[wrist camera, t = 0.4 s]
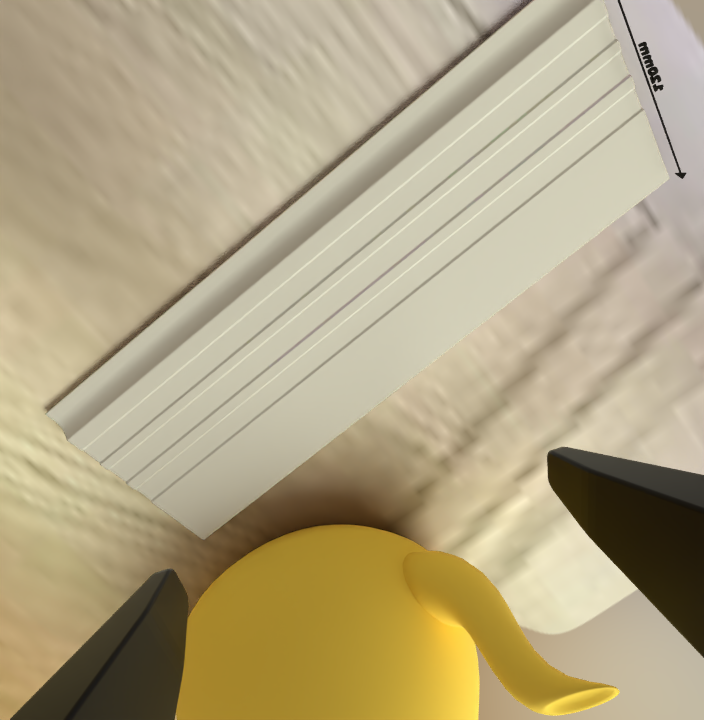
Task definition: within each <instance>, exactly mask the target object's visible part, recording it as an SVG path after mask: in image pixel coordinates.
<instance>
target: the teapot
mask: <svg viewBox="0 0 704 720" xmlns="http://www.w3.org/2000/svg"><path fill="white" fill-rule="evenodd" d="M475 644H476V645H477V647H478V648H479V650H480V652H481V653H482V655H483V656H484V658H485V660H486V661H487V663H488V664H489V666H490V667H491V669H492V671H493V672H494V673H495V675H496V676H497V677H498V679H499V680H500V682H501V683H502V684H503V686H504V687H505V689H506V690H507V691H508V692H509V693H510V694H511V695H512V696H513V697H514V698H515V699H516V700H517V701H519V702H520V703H522V704H523V705H525V706H526V707H528V708H529V709H531V710H532V711H534V712H537V713H541V714H545V715H565V714H570V713H575V712H579V711H582V710H586V709H589V708H592V707H595V706H598V705H600V704H602V703H605V702H607V701H609V700H611V699H613V698H614V697H616V696H617V695H618V694H619V690H618V689H617V688H616V687H614V686H610V685H606V684H602V683H595V682H589V681H585V680H582V679H578V678H574V677H570V676H567V675H565V674H564V673H562V672H560V671H559V670H557V669H555V668H554V667H552V666H550V665H549V664H548V663H547V662H546V661H545V660H544V659H543V658H542V657H541V656H540V655H539V654H538V653H537V652H536V651H535V650H534V649H533V647H532V646H531V644H530V643H529V641H528V640H527V639H526V637H525V635H524V634H523V632H522V630H521V628H520V627H519V625H518V623H517V621H516V620H515V618H514V616H513V614H512V612H511V611H510V609H509V607H508V605H507V603H506V602H505V600H504V599H503V597H502V596H501V594H500V592H499V591H498V590H497V588H496V587H495V586H494V585H493V584H492V583H491V582H490V580H489V579H488V578H487V577H486V576H485V575H484V574H483V573H482V572H481V571H479V570H478V569H477V568H475V567H474V566H472V565H471V564H469V563H468V562H467V561H465V560H464V559H462V558H459V557H457V556H454V555H451V554H447V553H444V552H440V551H427V550H426V549H425V548H423V547H422V546H420V545H419V544H417V543H415V542H413V541H411V540H409V539H407V538H405V537H402V536H399V535H397V534H394V533H391V532H388V531H384V530H380V529H376V528H371V527H366V526H358V525H323V526H315V527H310V528H305V529H301V530H298V531H295V532H291V533H288V534H286V535H283V536H281V537H279V538H276V539H274V540H272V541H269V542H267V543H266V544H264V545H262V546H260V547H259V548H257V549H255V550H253V551H252V552H250V553H248V554H247V555H246V556H244V557H243V558H241V559H240V560H239V561H237V562H236V563H234V564H233V565H232V566H231V567H229V568H228V569H227V570H226V571H225V572H224V573H222V574H221V575H220V576H219V577H218V578H217V579H216V580H215V581H214V582H213V583H212V584H211V585H210V586H209V588H208V589H207V590H206V591H205V592H204V593H203V595H202V596H201V597H200V599H199V601H198V602H197V604H196V605H195V607H194V608H193V610H192V612H191V613H190V615H189V617H188V619H187V633H186V647H185V660H184V670H183V676H182V682H181V687H180V693H179V698H178V703H177V709H176V715H177V720H478V710H479V669H478V657H477V651H476V647H475Z"/></svg>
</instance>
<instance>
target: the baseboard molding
mask: <svg viewBox="0 0 704 720" xmlns="http://www.w3.org/2000/svg"><path fill="white" fill-rule="evenodd" d="M618 3H619V6H620V8H621V11H622V14H623V17H624V19H625V22H626V25H627V28H628V31H629V33H630V36H631V39H632V42H633V45H634V47H635V50H636V53H637V56H638V58H639V61H640V64H641V67H642V70H643V72H644V75H645V78H646V81H647V84H648V86H649V89H650V92H651V95H652V97H653V100H654V103H655V106H656V109H657V111H658V114H659V117H660V120H661V122H662V125H663V128H664V131H665V134H666V136H667V139H668V142H669V145H670V148H671V150H672V153H673V156H674V159H675V161H676V164H677V167H678V170H679V173H675V174H676V175H677V176H679V177H680V178H682V179H683V178H684V176H685V175H686V173H681V170H680V167H679V165H678V162H677V159H676V156H675V153H674V151H673V148H672V145H671V142H670V139H669V137H668V134H667V131H666V128H665V125H664V123H663V120H662V117H661V114H660V111H659V109H658V106H657V103H656V100H655V97H654V95H653V92H652V89H651V86H650V83H649V81H648V78H647V75H646V72H645V69H644V67H643V64H642V61H641V58H640V55H639V53H638V50H637V47H636V44H635V41H634V39H633V36H632V33H631V30H630V27H629V25H628V22H627V19H626V16H625V13H624V11H623V8H622V5H621V2H620V0H618ZM638 46H639V47H641V46H644V47H642V48H641V49H640V51H644V50H645V52H643V53H641V54H642V56H643V55H646V54H648V53H650V52H649V50H648V47H647V43H646V42H643V43H640V44H639V45H638ZM621 50H622V49H621V46H620V44H619V41H618V40H617V39H616V37H615V35H614V32H613V29H612V27H611V24H610V21H609V19H608V11H607V9H606V6H605V3H604V1H603V0H532V1H531V2H530V3H529V4H527V5H526V6H525V7H524V8H523V9H521V10H520V11H519V12H518V13H517V14H516V15H514V16H513V17H512V18H511V19H510V20H509V21H507V22H506V23H505V24H504V25H503V26H501V27H500V28H499V29H498V30H497V31H496V32H494V33H493V34H492V35H491V36H490V37H488V38H487V39H486V40H485V41H484V42H483V43H481V44H480V45H479V46H478V47H477V48H476V49H474V50H473V51H472V52H471V53H470V54H468V55H467V56H466V57H465V58H464V59H463V60H461V61H460V62H459V63H458V64H457V65H455V66H454V67H453V68H452V69H451V70H450V71H448V72H447V73H446V74H445V75H444V76H442V77H441V78H440V79H439V80H438V81H437V82H435V83H434V84H433V85H432V86H431V87H430V88H428V89H427V90H426V91H425V92H424V93H422V94H421V95H420V96H419V97H418V98H417V99H415V100H414V101H413V102H412V103H411V104H409V105H408V106H407V107H406V108H405V109H404V110H402V111H401V112H400V113H399V114H398V115H397V116H395V117H394V118H393V119H392V120H391V121H389V122H388V123H387V124H386V125H385V126H384V127H382V128H381V129H380V130H379V131H378V132H376V133H375V134H374V135H373V136H372V137H371V138H369V139H368V140H367V141H366V142H365V143H363V144H362V145H361V146H360V147H359V148H358V149H356V150H355V151H354V152H353V153H352V154H351V155H349V156H348V157H347V158H346V159H345V160H343V161H342V162H341V163H340V164H339V165H338V166H336V167H335V168H334V169H333V170H332V171H330V172H329V173H328V174H327V175H326V176H325V177H323V178H322V179H321V180H320V181H319V182H318V183H316V184H315V185H314V186H313V187H312V188H310V189H309V190H308V191H307V192H306V193H305V194H303V195H302V196H301V197H300V198H299V199H297V200H296V201H295V202H294V203H293V204H292V205H290V206H289V207H288V208H287V209H286V210H284V211H283V212H282V213H281V214H280V215H279V216H277V217H276V218H275V219H274V220H273V221H272V222H270V223H269V224H268V225H267V226H266V227H264V228H263V229H262V230H261V231H260V232H259V233H257V234H256V235H255V236H254V237H253V238H251V239H250V240H249V241H248V242H247V243H246V244H244V245H243V246H242V247H241V248H240V249H239V250H237V251H236V252H235V253H234V254H233V255H231V256H230V257H229V258H228V259H227V260H226V261H224V262H223V263H222V264H221V265H220V266H218V267H217V268H216V269H215V270H214V271H213V272H211V273H210V274H209V275H208V276H207V277H206V278H204V279H203V280H202V281H201V282H200V283H198V284H197V285H196V286H195V287H194V288H193V289H191V290H190V291H189V292H188V293H187V294H185V295H184V296H183V297H182V298H181V299H180V300H178V301H177V302H176V303H175V304H174V305H172V306H171V307H170V308H169V309H168V310H167V311H165V312H164V313H163V314H162V315H161V316H160V317H158V318H157V319H156V320H155V321H154V322H152V323H151V324H150V325H149V326H148V327H147V328H145V329H144V330H143V331H142V332H141V333H139V334H138V335H137V336H136V337H135V338H134V339H132V340H131V341H130V342H129V343H128V344H127V345H125V346H124V347H123V348H122V349H121V350H119V351H118V352H117V353H116V354H115V355H114V356H112V357H111V358H110V359H109V360H108V361H106V362H105V363H104V364H103V365H102V366H101V367H99V368H98V369H97V370H96V371H95V372H93V373H92V374H91V375H90V376H89V377H88V378H86V379H85V380H84V381H83V382H82V383H81V384H79V385H78V386H77V387H76V388H75V389H73V390H72V391H71V392H70V393H69V394H68V395H66V396H65V397H64V398H63V399H62V400H60V401H59V402H58V403H57V404H56V405H55V406H53V407H52V408H51V409H50V410H49V411H48V412H47V413H46V414H45V415H47V416H48V417H49V418H51V419H52V420H53V421H55V422H56V423H57V424H58V425H59V426H60V427H61V428H62V430H63V431H64V433H65V436H66V438H67V441H69V442H70V443H71V444H73V445H74V446H75V447H77V448H78V449H79V450H81V451H84V452H86V453H87V454H88V455H90V456H91V457H92V458H94V459H95V460H96V461H98V462H99V463H100V465H101V466H103V467H104V468H105V469H107V470H110V471H111V472H113V473H114V474H116V475H117V476H118V477H120V478H121V479H122V480H124V481H125V482H126V484H127V485H129V486H130V487H131V488H133V489H134V490H137V491H139V492H140V493H141V494H143V495H144V496H145V497H147V498H148V499H150V500H151V502H152V503H153V504H155V505H156V506H157V507H159V508H160V509H161V510H163V511H164V512H165V513H167V514H168V515H170V516H171V517H172V518H174V519H175V520H176V521H178V522H179V523H180V524H182V525H183V526H185V527H186V528H187V529H189V530H190V531H191V532H193V533H194V534H196V535H197V536H198V537H200V538H201V539H202V540H205V539H206V538H207V537H209V536H210V535H211V534H212V533H214V532H215V531H216V530H218V529H219V528H220V527H221V526H223V525H224V524H225V523H227V522H228V521H229V520H230V519H232V518H233V517H234V516H236V515H237V514H238V513H239V512H241V511H242V510H243V509H245V508H246V507H247V506H248V505H250V504H251V503H252V502H254V501H255V500H256V499H257V498H259V497H260V496H261V495H263V494H264V493H265V492H267V491H268V490H269V489H270V488H272V487H273V486H274V485H276V484H277V483H278V482H279V481H281V480H282V479H283V478H285V477H286V476H287V475H288V474H290V473H291V472H292V471H294V470H295V469H296V468H297V467H299V466H300V465H301V464H303V463H304V462H305V461H306V460H308V459H309V458H310V457H312V456H313V455H314V454H315V453H317V452H318V451H319V450H321V449H322V448H323V447H324V446H326V445H327V444H328V443H330V442H331V441H332V440H333V439H335V438H336V437H337V436H339V435H340V434H341V433H343V432H344V431H345V430H346V429H348V428H349V427H350V426H352V425H353V424H354V423H355V422H357V421H358V420H359V419H361V418H362V417H363V416H364V415H366V414H367V413H368V412H370V411H371V410H372V409H373V408H375V407H376V406H377V405H379V404H380V403H381V402H382V401H384V400H385V399H386V398H388V397H389V396H390V395H391V394H393V393H394V392H395V391H397V390H398V389H399V388H400V387H402V386H403V385H404V384H406V383H407V382H408V381H409V380H411V379H412V378H413V377H415V376H416V375H417V374H419V373H420V372H421V371H422V370H424V369H425V368H426V367H428V366H429V365H430V364H431V363H433V362H434V361H435V360H437V359H438V358H439V357H440V356H442V355H443V354H444V353H446V352H447V351H448V350H449V349H451V348H452V347H453V346H455V345H456V344H457V343H458V342H460V341H461V340H462V339H464V338H465V337H466V336H467V335H469V334H470V333H471V332H473V331H474V330H475V329H476V328H478V327H479V326H480V325H482V324H483V323H484V322H485V321H487V320H488V319H489V318H491V317H492V316H493V315H495V314H496V313H497V312H498V311H500V310H501V309H502V308H504V307H505V306H506V305H507V304H509V303H510V302H511V301H513V300H514V299H515V298H516V297H518V296H519V295H520V294H522V293H523V292H524V291H525V290H527V289H528V288H529V287H531V286H532V285H533V284H534V283H536V282H537V281H538V280H540V279H541V278H542V277H543V276H545V275H546V274H547V273H549V272H550V271H551V270H552V269H554V268H555V267H556V266H558V265H559V264H560V263H561V262H563V261H564V260H565V259H567V258H568V257H569V256H571V255H572V254H573V253H574V252H576V251H577V250H578V249H580V248H581V247H582V246H583V245H585V244H586V243H587V242H589V241H590V240H591V239H592V238H594V237H595V236H596V235H598V234H599V233H600V232H601V231H603V230H604V229H605V228H607V227H608V226H609V225H610V224H612V223H613V222H614V221H616V220H617V219H618V218H619V217H621V216H622V215H623V214H625V213H626V212H627V211H628V210H630V209H631V208H632V207H634V206H635V205H636V204H637V203H639V202H640V201H641V200H643V199H644V198H645V197H647V196H648V195H649V194H650V193H652V192H653V191H654V190H656V189H657V188H658V187H659V186H661V185H662V184H663V183H665V182H666V181H667V180H668V179H670V178H669V176H668V173H667V170H666V167H665V165H664V162H663V159H662V157H661V154H660V151H659V149H658V146H657V143H656V141H655V138H654V135H653V132H652V130H651V127H650V124H649V122H648V119H647V116H646V114H645V111H644V109H642V107H641V104H640V102H639V99H638V96H637V94H636V91H635V84H634V81H633V79H632V76H631V75H630V74H629V72H628V70H627V67H626V64H625V62H624V59H623V56H622V54H621ZM644 59H648V60H646V61H644V63H645V64H647V63H650V64H648V65H646V68H649V67H651V68H650V69H649V70H648V74H649V75H650V76H651V77H650V80H651V82H652V84H654V83H655V81H656V79H657V80H658V82H660V81H661V77H660V76H659V75H656V74H657V73H658V69H657V67H652V66H654V64H653V60H652V59H651V55H646V56H644V57H643V60H644ZM651 71H655V72H651ZM654 75H656V76H655V77H653V76H654ZM663 87H664V86H663V85H659V86H656V84H654V85H653V88H654V91H655V92H656V91H657V90H658V89H660V91H661V90H662V89H663Z"/></svg>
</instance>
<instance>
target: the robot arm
mask: <svg viewBox="0 0 704 720" xmlns="http://www.w3.org/2000/svg"><path fill="white" fill-rule="evenodd" d="M547 465H548V480H549V483H550V486H551V488H552V489H553V491H554V492H555V493H556V495H557V496H558V497H559V498H560V500H561V501H562V502H563V504H564V505H565V506H566V508H567V509H568V510H569V512H570V513H571V514H572V516H573V517H574V518H575V520H576V521H577V522H578V524H579V525H580V526H581V527H582V529H583V530H584V531H585V532H586V534H587V535H588V536H589V537H590V538H591V539H592V540H593V542H594V543H595V544H596V545H597V546H598V547H599V548H600V549H601V550H602V551H603V552H604V553H605V554H606V555H607V556H608V557H609V558H610V560H611V561H612V562H613V563H614V564H615V565H616V566H617V567H618V568H619V569H620V570H621V571H622V572H623V573H624V574H625V575H626V576H627V577H628V578H629V580H630V581H631V582H632V583H633V584H634V585H635V586H636V587H637V588H638V589H639V590H640V591H641V592H642V593H643V594H644V595H645V596H646V597H647V599H648V600H649V601H650V602H651V603H652V604H653V605H654V606H655V607H656V608H657V609H658V610H659V611H660V612H661V613H662V614H663V615H664V616H665V617H666V619H667V620H668V621H669V622H670V623H671V624H672V625H673V626H674V627H675V628H676V629H677V630H678V631H679V632H680V633H681V634H682V635H683V636H684V637H685V638H686V640H687V641H688V642H689V643H690V644H691V645H692V646H693V647H694V648H695V649H696V650H697V651H698V652H699V653H700V654H701V655H702V656H703V658H704V475H701V474H696V473H691V472H686V471H681V470H676V469H671V468H666V467H661V466H657V465H652V464H647V463H642V462H637V461H632V460H627V459H622V458H617V457H613V456H608V455H603V454H598V453H593V452H588V451H583V450H578V449H573V448H569V447H560V448H557V449H554V450H551V451H549V452H548V455H547ZM187 619H188V596H187V593H186V591H185V589H184V587H183V585H182V583H181V582H180V580H179V578H178V576H177V574H176V572H175V571H174V570H173V569H166V570H163V571H160V572H157V573H154V574H153V575H152V576H151V577H150V578H149V579H148V580H147V581H146V582H145V583H144V584H143V585H142V586H141V587H140V588H139V589H138V590H137V591H136V592H135V593H134V594H133V595H132V596H131V597H130V598H129V599H128V600H127V601H126V602H125V603H124V604H123V605H122V606H121V607H120V608H119V609H118V610H117V611H116V612H115V613H114V614H113V615H112V616H111V617H110V618H109V619H108V620H107V621H106V622H105V623H104V624H103V625H102V626H101V628H100V629H99V630H98V631H97V632H96V633H95V634H94V635H93V636H92V637H91V638H90V639H89V640H88V641H87V642H86V643H85V644H84V645H83V646H82V647H81V648H80V649H79V650H78V651H77V652H76V653H75V654H74V655H73V656H72V657H71V658H70V659H69V660H68V661H67V662H66V663H65V664H64V665H63V666H62V667H61V668H60V669H59V670H58V671H57V672H56V673H55V674H54V675H53V676H52V677H51V678H50V679H49V680H48V681H47V682H46V683H45V684H44V685H43V686H42V687H41V688H40V689H39V690H38V691H37V692H36V693H35V694H34V695H33V696H32V697H31V698H30V699H29V700H28V701H27V702H26V703H25V704H24V705H23V707H22V708H21V709H20V710H19V711H18V712H17V713H16V714H15V715H14V716H13V717H12V718H11V719H10V720H175V714H176V709H177V703H178V698H179V693H180V687H181V682H182V676H183V670H184V660H185V647H186V633H187Z"/></svg>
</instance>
